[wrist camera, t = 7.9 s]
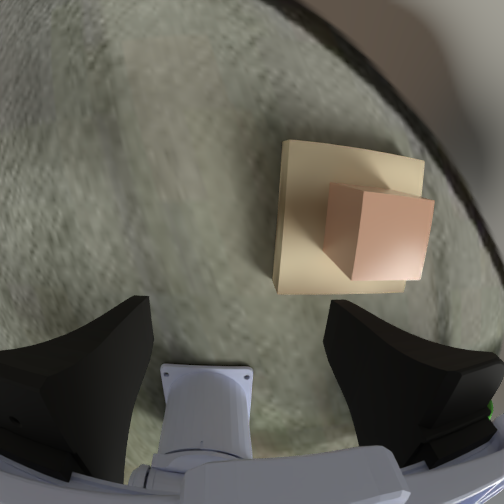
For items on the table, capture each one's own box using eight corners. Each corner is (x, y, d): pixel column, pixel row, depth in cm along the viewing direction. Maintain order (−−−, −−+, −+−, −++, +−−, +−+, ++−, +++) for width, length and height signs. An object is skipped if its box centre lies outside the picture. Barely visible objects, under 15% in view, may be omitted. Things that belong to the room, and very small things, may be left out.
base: (388, 280, 23) (403, 292, 21) (272, 279, 22) (277, 294, 20) (406, 159, 20) (424, 161, 18) (282, 141, 19) (289, 139, 17)
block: (381, 252, 20) (419, 279, 15) (322, 251, 19) (351, 280, 15) (390, 189, 18) (434, 200, 14) (329, 181, 18) (363, 191, 13)
